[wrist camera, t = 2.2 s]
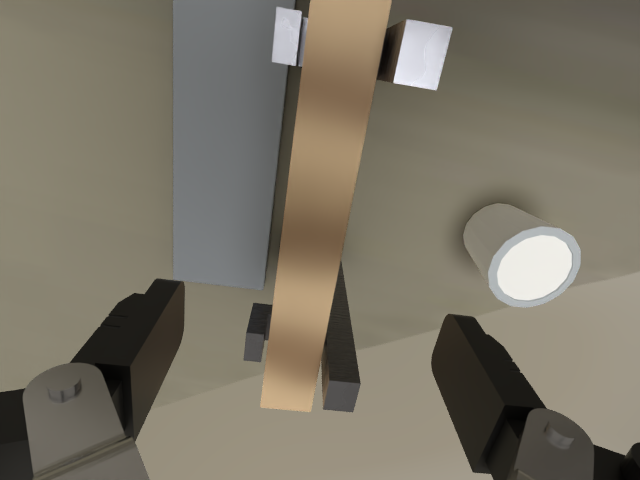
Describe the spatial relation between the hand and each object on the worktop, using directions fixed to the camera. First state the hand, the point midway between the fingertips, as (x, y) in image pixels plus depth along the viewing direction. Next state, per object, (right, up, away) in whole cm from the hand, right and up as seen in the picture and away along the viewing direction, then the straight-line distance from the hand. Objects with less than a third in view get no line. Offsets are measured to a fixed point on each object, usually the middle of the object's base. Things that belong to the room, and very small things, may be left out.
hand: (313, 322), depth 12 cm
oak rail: (0, +4, +9) cm, 10 cm away
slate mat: (-7, +10, +19) cm, 23 cm away
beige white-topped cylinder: (+16, +3, +23) cm, 28 cm away
